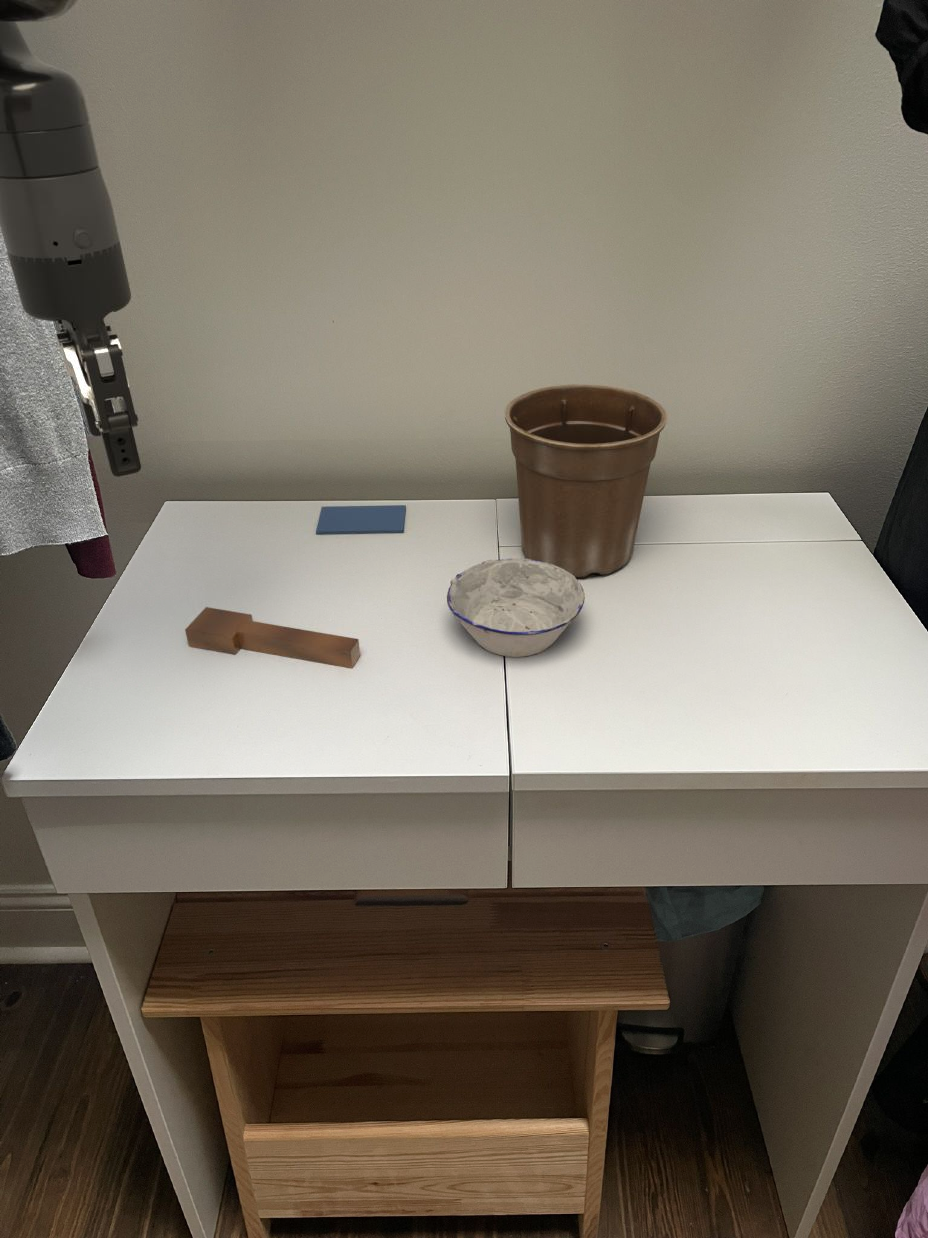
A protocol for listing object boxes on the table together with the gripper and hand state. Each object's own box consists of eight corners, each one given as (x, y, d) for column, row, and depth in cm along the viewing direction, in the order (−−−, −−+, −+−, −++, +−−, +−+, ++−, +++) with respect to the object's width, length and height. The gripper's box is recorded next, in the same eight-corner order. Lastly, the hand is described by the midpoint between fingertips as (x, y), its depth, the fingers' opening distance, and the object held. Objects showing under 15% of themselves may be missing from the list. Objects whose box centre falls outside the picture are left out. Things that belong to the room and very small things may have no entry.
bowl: (444, 672, 87) (442, 629, 84) (452, 595, 97) (451, 555, 94) (586, 674, 86) (589, 631, 83) (578, 597, 96) (581, 556, 94)
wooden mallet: (364, 649, 90) (362, 632, 88) (348, 675, 86) (346, 657, 85) (209, 623, 94) (205, 606, 93) (188, 646, 91) (184, 629, 89)
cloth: (405, 507, 113) (405, 504, 113) (403, 532, 108) (403, 529, 108) (322, 509, 113) (321, 506, 113) (316, 534, 108) (315, 531, 108)
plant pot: (533, 504, 113) (537, 373, 104) (667, 529, 107) (683, 393, 98) (480, 571, 101) (479, 429, 92) (628, 603, 95) (643, 456, 86)
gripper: (-7, 226, 70) (52, 430, 79) (19, 270, 60) (83, 499, 69) (98, 214, 73) (142, 412, 82) (139, 254, 62) (185, 476, 72)
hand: (115, 452), depth 76 cm, fingers open, 8 cm apart
